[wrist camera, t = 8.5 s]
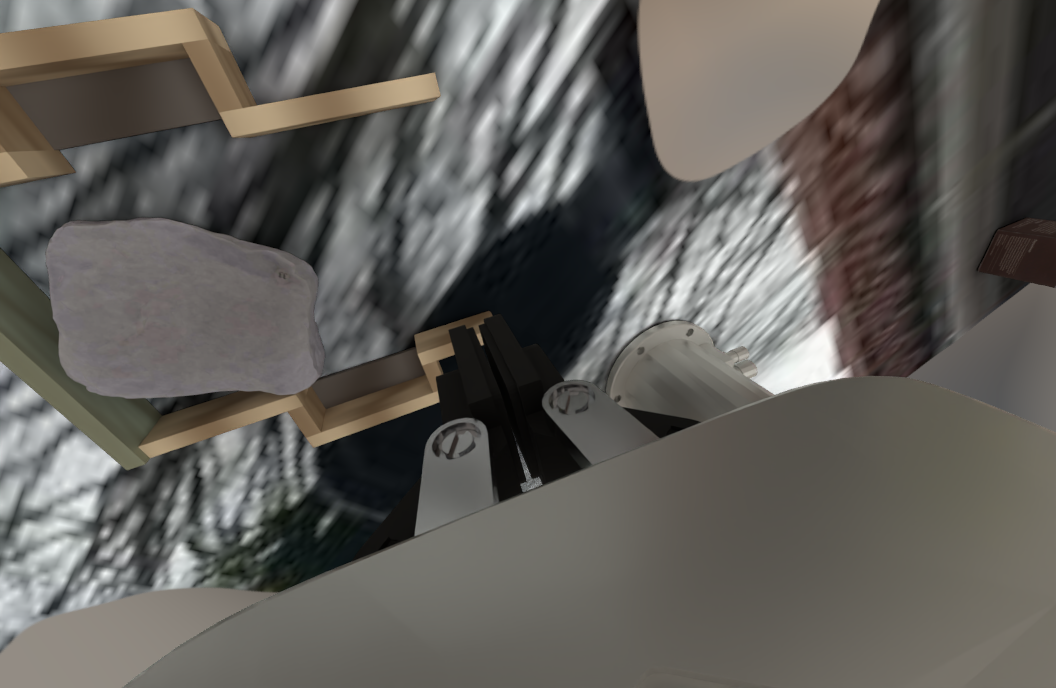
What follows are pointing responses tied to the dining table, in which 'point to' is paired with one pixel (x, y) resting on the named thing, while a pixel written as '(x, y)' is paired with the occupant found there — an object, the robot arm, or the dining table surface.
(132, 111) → the box
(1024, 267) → the box
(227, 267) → the stone block
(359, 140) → the dining table surface
